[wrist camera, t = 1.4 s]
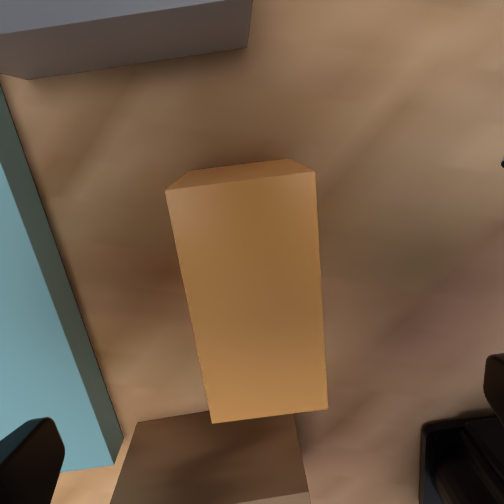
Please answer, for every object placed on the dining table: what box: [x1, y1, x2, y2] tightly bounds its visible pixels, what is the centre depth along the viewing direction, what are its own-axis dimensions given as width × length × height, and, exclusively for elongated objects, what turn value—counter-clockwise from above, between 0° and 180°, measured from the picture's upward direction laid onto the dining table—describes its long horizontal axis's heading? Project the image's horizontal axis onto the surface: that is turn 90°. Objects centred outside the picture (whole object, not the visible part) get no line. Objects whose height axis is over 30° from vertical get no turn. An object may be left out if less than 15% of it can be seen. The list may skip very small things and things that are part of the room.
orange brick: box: [165, 158, 328, 424], centre depth 13 cm, size 8×4×5 cm, turn 7°
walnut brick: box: [110, 411, 311, 504], centre depth 16 cm, size 8×4×5 cm, turn 99°
